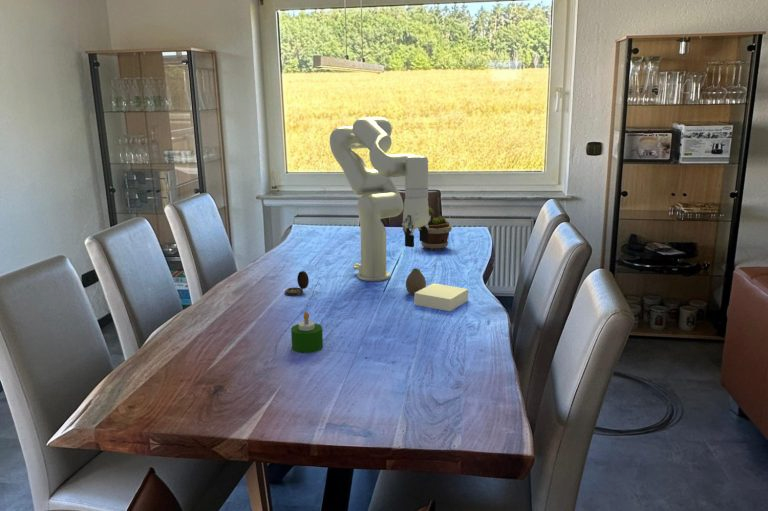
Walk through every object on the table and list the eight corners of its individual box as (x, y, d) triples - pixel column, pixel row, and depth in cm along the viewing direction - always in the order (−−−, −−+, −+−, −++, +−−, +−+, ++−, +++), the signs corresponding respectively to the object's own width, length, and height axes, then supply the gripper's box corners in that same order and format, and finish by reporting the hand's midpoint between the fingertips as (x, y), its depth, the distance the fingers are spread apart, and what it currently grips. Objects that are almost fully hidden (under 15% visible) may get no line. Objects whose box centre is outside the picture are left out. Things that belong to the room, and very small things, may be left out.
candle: (309, 355, 163) (308, 319, 160) (285, 349, 167) (283, 313, 165) (328, 345, 170) (327, 310, 167) (305, 339, 174) (303, 305, 172)
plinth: (414, 304, 203) (414, 292, 202) (433, 294, 213) (433, 283, 213) (450, 311, 196) (450, 299, 195) (467, 300, 207) (468, 289, 206)
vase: (424, 297, 210) (424, 272, 208) (404, 296, 212) (404, 271, 210) (427, 291, 217) (427, 267, 215) (407, 290, 218) (407, 266, 216)
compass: (281, 293, 216) (280, 272, 215) (300, 288, 221) (300, 269, 219) (293, 298, 210) (292, 277, 209) (313, 293, 215) (312, 273, 213)
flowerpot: (456, 246, 283) (457, 203, 278) (441, 253, 271) (441, 208, 266) (428, 243, 291) (429, 200, 286) (412, 249, 278) (412, 205, 273)
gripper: (419, 189, 215) (419, 238, 219) (393, 195, 201) (393, 247, 205) (439, 191, 211) (438, 240, 215) (413, 197, 197) (413, 250, 201)
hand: (416, 243), depth 210 cm, fingers open, 9 cm apart
